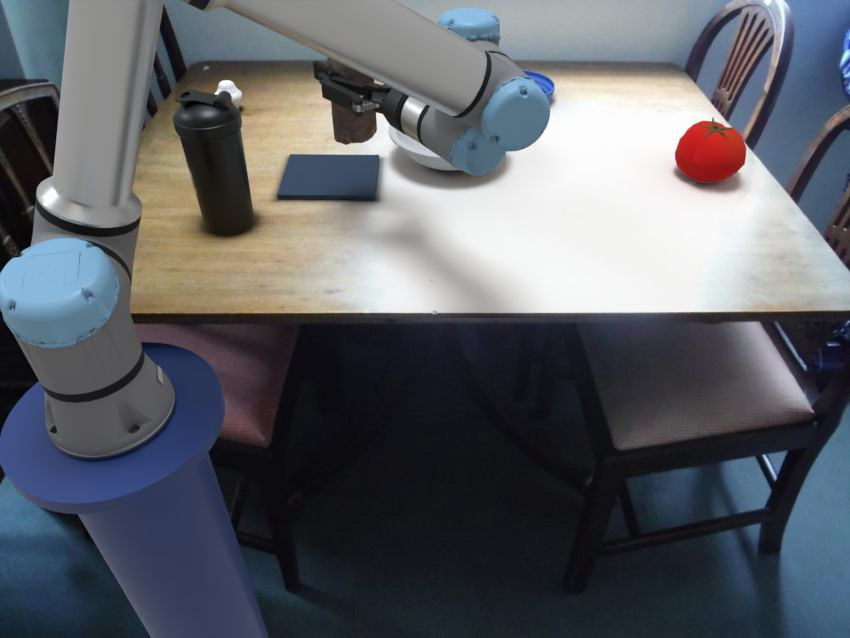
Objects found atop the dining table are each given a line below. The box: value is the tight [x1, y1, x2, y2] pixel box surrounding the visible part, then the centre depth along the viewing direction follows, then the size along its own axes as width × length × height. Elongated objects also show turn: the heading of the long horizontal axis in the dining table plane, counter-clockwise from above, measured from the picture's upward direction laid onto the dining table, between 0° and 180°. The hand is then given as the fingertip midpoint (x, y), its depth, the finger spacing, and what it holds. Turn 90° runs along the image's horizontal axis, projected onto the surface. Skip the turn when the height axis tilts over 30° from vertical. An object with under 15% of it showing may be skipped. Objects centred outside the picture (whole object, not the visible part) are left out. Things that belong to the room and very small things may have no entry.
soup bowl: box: [388, 124, 462, 171], centre depth 132 cm, size 24×24×7 cm
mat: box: [276, 153, 380, 201], centre depth 127 cm, size 18×16×1 cm
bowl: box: [521, 69, 556, 103], centre depth 157 cm, size 18×18×4 cm
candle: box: [326, 56, 378, 146], centre depth 106 cm, size 8×7×20 cm
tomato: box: [674, 116, 747, 184], centre depth 127 cm, size 13×12×11 cm
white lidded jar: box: [214, 79, 243, 110], centre depth 149 cm, size 6×6×7 cm
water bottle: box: [172, 88, 256, 237], centre depth 108 cm, size 10×10×23 cm
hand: (336, 64), depth 108 cm, fingers closed on candle, 7 cm apart
